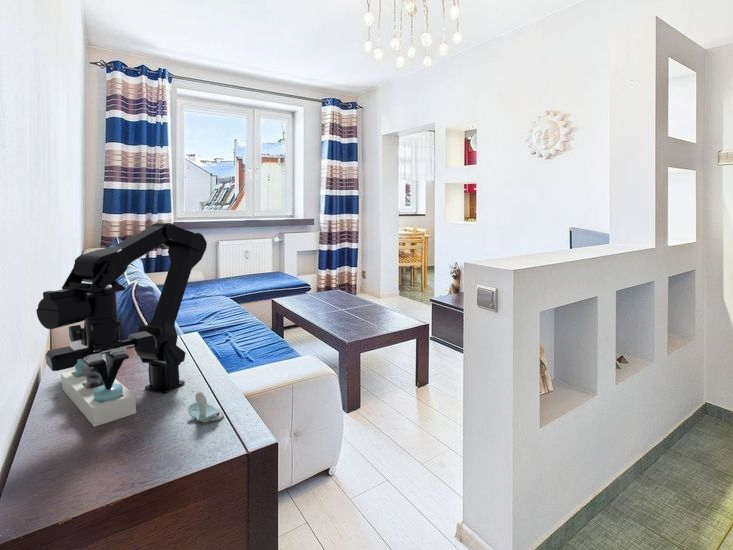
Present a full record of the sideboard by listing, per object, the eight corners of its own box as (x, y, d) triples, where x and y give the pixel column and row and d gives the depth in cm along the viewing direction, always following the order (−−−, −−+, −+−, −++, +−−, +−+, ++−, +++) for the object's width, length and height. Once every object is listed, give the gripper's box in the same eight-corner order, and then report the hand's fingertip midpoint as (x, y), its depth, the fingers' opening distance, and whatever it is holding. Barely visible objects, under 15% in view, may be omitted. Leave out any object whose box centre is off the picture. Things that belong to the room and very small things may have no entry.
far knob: (100, 374, 100) (98, 356, 99) (74, 380, 96) (72, 361, 96) (93, 368, 104) (91, 350, 103) (68, 374, 100) (66, 356, 99)
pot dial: (110, 385, 94) (108, 364, 93) (86, 392, 91) (84, 370, 90) (104, 379, 97) (102, 359, 96) (80, 385, 94) (78, 364, 93)
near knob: (127, 409, 89) (126, 388, 88) (99, 418, 85) (97, 396, 84) (119, 401, 92) (117, 381, 91) (92, 409, 88) (89, 388, 87)
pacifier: (211, 407, 92) (185, 417, 88) (211, 380, 92) (184, 388, 87) (230, 419, 88) (202, 429, 83) (229, 390, 87) (202, 399, 82)
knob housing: (136, 413, 89) (135, 395, 88) (94, 426, 83) (92, 407, 83) (99, 379, 106) (98, 364, 105) (62, 389, 100) (60, 373, 99)
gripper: (136, 302, 97) (141, 366, 100) (35, 317, 84) (44, 391, 86) (155, 310, 90) (160, 379, 92) (48, 328, 76) (57, 409, 79)
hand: (108, 388), depth 88 cm, fingers closed, pressing on near knob
